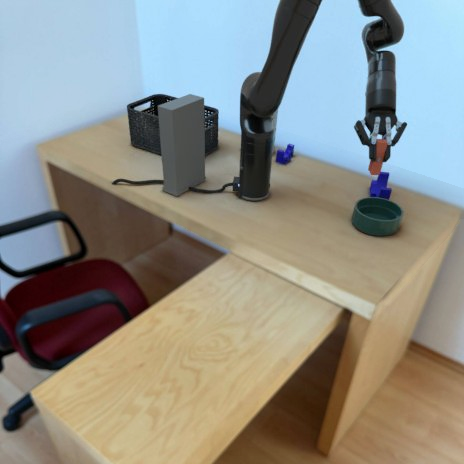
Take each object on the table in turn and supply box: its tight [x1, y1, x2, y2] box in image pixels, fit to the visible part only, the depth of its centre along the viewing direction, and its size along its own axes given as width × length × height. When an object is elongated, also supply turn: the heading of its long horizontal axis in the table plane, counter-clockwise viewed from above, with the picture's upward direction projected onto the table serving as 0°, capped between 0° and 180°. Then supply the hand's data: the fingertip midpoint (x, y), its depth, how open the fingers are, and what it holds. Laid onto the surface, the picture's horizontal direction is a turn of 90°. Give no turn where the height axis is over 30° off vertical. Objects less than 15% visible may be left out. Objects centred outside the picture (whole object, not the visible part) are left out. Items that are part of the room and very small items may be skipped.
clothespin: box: [367, 138, 388, 176], centre depth 114 cm, size 2×3×8 cm
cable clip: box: [369, 171, 393, 200], centre depth 133 cm, size 12×4×6 cm, turn 169°
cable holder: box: [275, 143, 295, 165], centre depth 152 cm, size 8×4×4 cm, turn 142°
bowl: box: [351, 196, 404, 237], centre depth 122 cm, size 13×13×5 cm
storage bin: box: [126, 93, 220, 157], centre depth 155 cm, size 29×19×13 cm
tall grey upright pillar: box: [158, 93, 207, 197], centre depth 129 cm, size 14×6×25 cm, turn 144°
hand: (379, 160), depth 113 cm, fingers closed on clothespin, 2 cm apart
